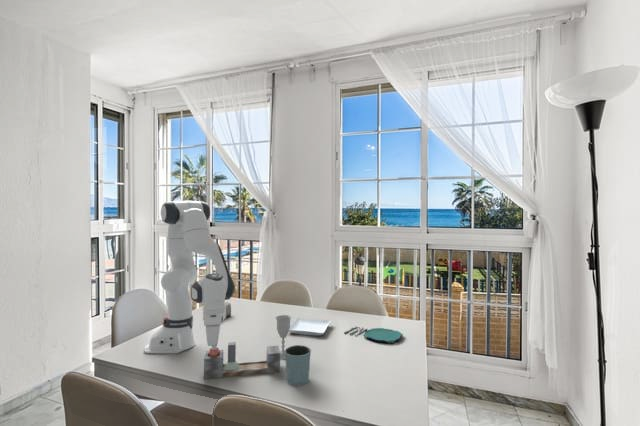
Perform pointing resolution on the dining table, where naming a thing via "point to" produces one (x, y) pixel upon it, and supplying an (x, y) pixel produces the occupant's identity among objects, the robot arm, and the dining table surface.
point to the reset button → (213, 352)
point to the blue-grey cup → (297, 364)
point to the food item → (228, 309)
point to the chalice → (283, 330)
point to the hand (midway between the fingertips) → (214, 348)
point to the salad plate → (309, 326)
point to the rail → (242, 365)
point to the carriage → (231, 357)
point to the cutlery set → (380, 334)
